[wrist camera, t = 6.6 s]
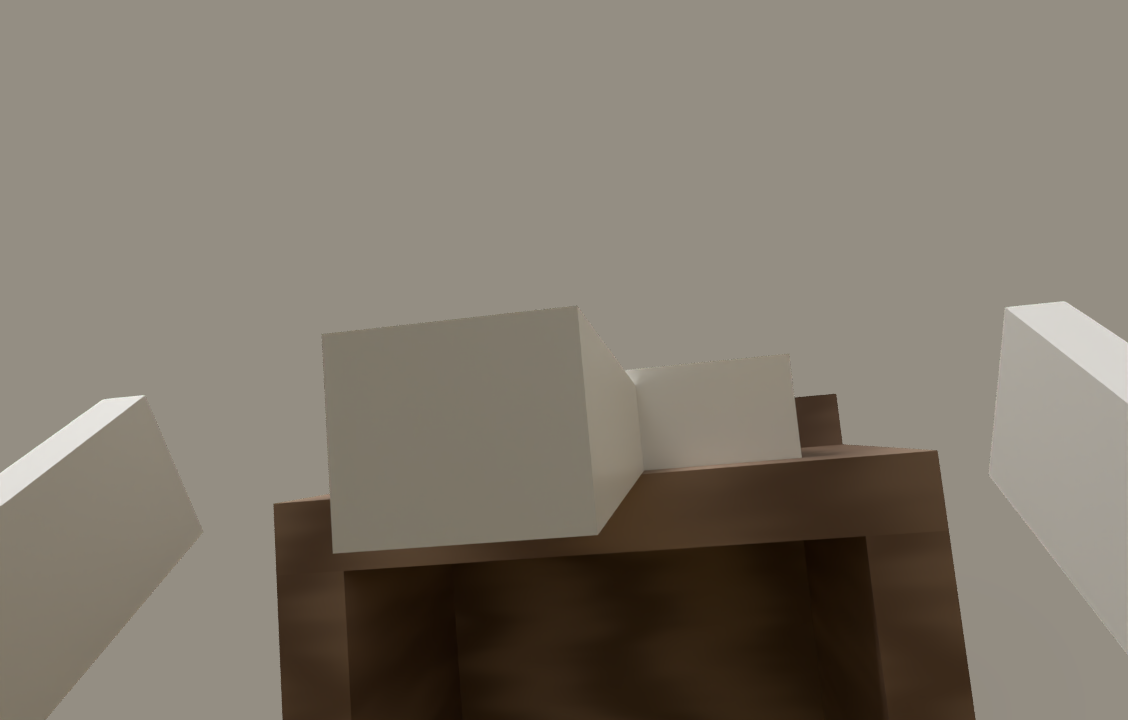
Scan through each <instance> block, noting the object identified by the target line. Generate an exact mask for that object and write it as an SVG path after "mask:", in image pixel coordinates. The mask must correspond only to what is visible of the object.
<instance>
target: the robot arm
mask: <svg viewBox="0 0 1128 720" xmlns="http://www.w3.org/2000/svg"><path fill="white" fill-rule="evenodd" d="M989 476H990V477H991V479H992V480H993V481H994V483H995V484H996V485H997V487H998V488H999V489H1000V490H1001V492H1002V493H1003V494H1004V496H1005V497H1006V498H1007V499H1008V501H1009V502H1010V503H1011V505H1012V506H1013V507H1014V509H1015V510H1016V511H1017V512H1018V514H1019V515H1020V516H1021V517H1022V519H1023V520H1024V522H1025V523H1026V524H1027V525H1028V527H1029V528H1030V529H1031V531H1032V532H1033V533H1034V535H1035V536H1036V537H1037V538H1038V540H1039V541H1040V542H1041V544H1042V545H1043V546H1044V547H1045V549H1046V550H1047V551H1048V553H1049V554H1050V555H1051V557H1052V558H1053V559H1054V560H1055V562H1056V563H1057V564H1058V565H1059V567H1060V568H1061V569H1062V570H1063V572H1064V573H1065V575H1066V576H1067V577H1068V579H1069V580H1070V581H1071V582H1072V584H1073V585H1074V586H1075V588H1076V589H1077V590H1078V591H1079V593H1080V594H1081V595H1082V597H1083V598H1084V599H1085V600H1086V602H1087V603H1088V604H1089V606H1090V607H1091V608H1092V610H1093V611H1094V612H1095V614H1096V615H1097V616H1098V617H1099V619H1100V620H1101V621H1102V623H1103V624H1104V625H1105V626H1106V628H1107V629H1108V630H1109V632H1110V633H1111V634H1112V635H1113V637H1114V638H1115V639H1116V641H1117V642H1118V643H1119V645H1120V646H1121V647H1122V648H1123V650H1124V651H1125V652H1126V654H1127V655H1128V343H1127V342H1126V341H1124V340H1123V339H1121V338H1120V337H1118V336H1117V335H1115V334H1114V333H1112V332H1111V331H1109V330H1108V329H1106V328H1104V327H1103V326H1102V325H1100V324H1099V323H1097V322H1096V321H1094V320H1093V319H1091V318H1090V317H1088V316H1087V315H1085V314H1084V313H1082V312H1081V311H1079V310H1078V309H1076V308H1074V307H1073V306H1071V305H1070V304H1068V303H1067V302H1065V301H1063V302H1053V303H1043V304H1033V305H1023V306H1013V307H1005V313H1004V323H1003V334H1002V344H1001V354H1000V364H999V374H998V384H997V395H996V405H995V415H994V425H993V435H992V445H991V456H990V466H989ZM202 533H203V530H202V527H201V525H200V523H199V520H198V518H197V516H196V513H195V511H194V509H193V506H192V504H191V501H190V499H189V497H188V495H187V492H186V490H185V487H184V486H183V483H182V480H181V478H180V476H179V474H178V471H177V469H176V466H175V464H174V462H173V459H172V457H171V455H170V453H169V450H168V448H167V445H166V443H165V440H164V438H163V436H162V433H161V431H160V429H159V426H158V424H157V422H156V419H155V417H154V415H153V412H152V410H151V408H150V405H149V403H148V401H147V398H146V396H145V395H141V396H131V397H121V398H112V399H103V400H102V401H100V402H99V403H97V404H96V405H95V406H93V407H92V408H90V409H89V410H88V411H86V412H85V413H83V414H82V415H81V416H79V417H78V418H76V419H75V420H74V421H72V422H71V423H70V424H68V425H67V426H65V427H64V428H62V429H61V430H60V431H58V432H57V433H55V434H54V435H53V436H51V437H50V438H48V439H47V440H46V441H44V442H43V443H41V444H40V445H39V446H37V447H36V448H34V449H33V450H32V451H30V452H29V453H28V454H26V455H25V456H23V457H22V458H21V459H19V460H18V461H17V462H15V463H14V464H12V465H11V466H9V467H8V468H7V469H5V470H4V471H2V472H1V473H0V720H46V718H47V717H48V716H49V715H50V714H51V713H52V711H53V710H54V709H55V708H56V707H57V705H58V704H59V703H60V702H61V701H62V699H63V698H64V697H65V696H66V695H67V693H68V692H69V691H70V690H71V689H72V687H73V686H74V685H75V684H76V683H77V681H78V680H79V679H80V678H81V677H82V676H83V675H84V673H85V672H86V671H87V670H88V668H89V667H90V666H91V665H92V663H94V661H95V660H96V659H97V658H98V657H99V655H100V654H101V653H102V652H103V651H104V649H105V648H106V647H107V646H108V645H109V644H110V642H111V641H112V640H113V639H114V638H115V636H116V635H117V634H118V633H119V632H120V630H121V629H122V628H123V627H124V626H125V624H126V623H127V622H128V621H129V620H130V619H131V617H132V616H133V615H134V614H135V613H136V611H137V610H138V609H139V608H140V607H141V606H142V604H143V603H144V602H145V601H146V600H147V598H148V597H149V596H150V595H151V594H152V592H153V591H154V590H155V589H156V587H157V586H158V585H159V584H160V583H161V582H162V580H163V579H164V578H165V577H166V576H167V575H168V573H169V572H170V571H171V570H172V568H173V567H174V566H175V565H176V564H177V563H178V561H179V560H180V559H181V558H182V557H183V556H184V554H185V553H186V552H187V551H188V550H189V548H190V547H191V546H192V545H193V543H194V542H195V541H196V540H197V539H198V538H199V536H200V535H201V534H202Z"/></svg>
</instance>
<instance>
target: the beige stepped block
mask: <svg viewBox="0 0 1128 720" xmlns="http://www.w3.org/2000/svg"><path fill="white" fill-rule="evenodd" d="M322 348H323V349H322V350H323V369H324V389H325V408H326V427H327V448H328V467H329V487H330V507H331V527H332V547H333V554H335V553H349V552H363V551H377V550H392V549H406V548H420V547H434V546H449V545H463V544H477V543H492V542H506V541H520V540H534V539H549V538H563V537H577V536H592V535H598V534H599V533H600V531H601V530H602V528H603V527H604V526H605V524H606V523H607V521H608V520H609V519H610V517H611V516H612V515H613V513H614V512H615V510H616V509H617V508H618V506H619V505H620V503H621V502H622V501H623V499H624V498H625V496H626V495H627V494H628V492H629V491H630V489H631V488H632V487H633V485H634V484H635V482H636V481H637V480H638V478H639V477H640V475H641V474H642V473H643V471H645V470H657V469H669V468H682V467H694V466H706V465H719V464H731V463H743V462H756V461H768V460H780V459H793V458H802V455H801V447H800V439H799V430H798V422H797V414H796V406H795V397H794V389H793V381H792V373H791V364H790V356H789V354H782V355H772V356H762V357H752V358H741V359H731V360H721V361H712V362H701V363H691V364H681V365H671V366H661V367H651V368H642V369H631V370H624V369H623V368H622V367H621V365H620V364H619V362H618V361H617V360H616V358H615V357H614V355H613V354H612V353H611V351H610V350H609V349H608V347H607V346H606V344H605V343H604V342H603V340H602V339H601V338H600V336H599V335H598V333H597V332H596V331H595V330H594V328H593V327H592V325H591V324H590V323H589V321H588V320H587V318H586V317H585V316H584V315H583V313H582V312H581V310H580V309H579V307H578V306H569V307H561V308H552V309H543V310H534V311H526V312H516V313H507V314H498V315H489V316H480V317H471V318H462V319H453V320H444V321H435V322H426V323H418V324H409V325H399V326H390V327H382V328H373V329H364V330H355V331H347V332H338V333H329V334H322Z"/></svg>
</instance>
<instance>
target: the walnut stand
mask: <svg viewBox="0 0 1128 720" xmlns="http://www.w3.org/2000/svg"><path fill="white" fill-rule="evenodd" d="M795 406H796V414H797V422H798V430H799V439H800V447H801V455H802V458H793V459H780V460H768V461H756V462H743V463H731V464H719V465H706V466H694V467H682V468H669V469H657V470H645V471H643V473H642V474H641V475H640V477H639V478H638V480H637V481H636V482H635V484H634V485H633V487H632V488H631V489H630V491H629V492H628V494H627V495H626V496H625V498H624V499H623V501H622V502H621V503H620V505H619V506H618V508H617V509H616V510H615V512H614V513H613V515H612V516H611V517H610V519H609V520H608V521H607V523H606V524H605V526H604V527H603V528H602V530H601V531H600V533H599V534H598V535H592V536H577V537H563V538H549V539H534V540H520V541H506V542H492V543H477V544H463V545H449V546H434V547H420V548H406V549H392V550H377V551H363V552H349V553H335V554H333V547H332V527H331V507H330V494H326V495H321V496H315V497H309V498H303V499H298V500H292V501H287V502H281V503H275V504H274V526H275V548H276V549H275V550H276V574H277V596H278V597H277V598H278V620H279V645H280V668H281V691H282V714H283V720H975V712H974V706H973V698H972V691H971V684H970V677H969V670H968V664H967V656H966V649H965V642H964V635H963V628H962V620H961V613H960V607H959V599H958V592H957V585H956V579H955V571H954V564H953V558H952V550H951V543H950V536H949V529H948V522H947V515H946V508H945V500H944V494H943V487H942V480H941V472H940V465H939V458H938V452H937V450H922V449H906V448H890V447H875V446H859V445H844V444H842V436H841V429H840V420H839V413H838V405H837V397H836V394H829V395H817V396H806V397H797V398H795Z"/></svg>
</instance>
